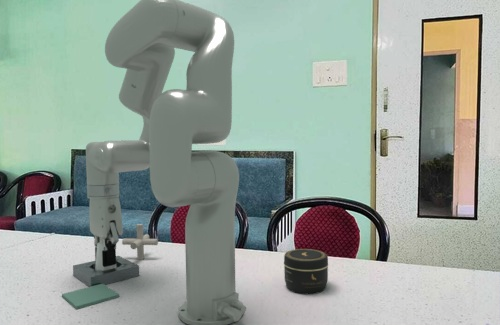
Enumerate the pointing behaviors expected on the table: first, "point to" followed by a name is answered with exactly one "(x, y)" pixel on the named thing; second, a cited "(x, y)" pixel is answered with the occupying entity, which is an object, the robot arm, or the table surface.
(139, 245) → the pipe connector
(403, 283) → the table surface
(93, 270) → the frame
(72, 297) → the mat
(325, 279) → the jar
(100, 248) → the pepper shaker
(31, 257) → the table surface
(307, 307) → the table surface
